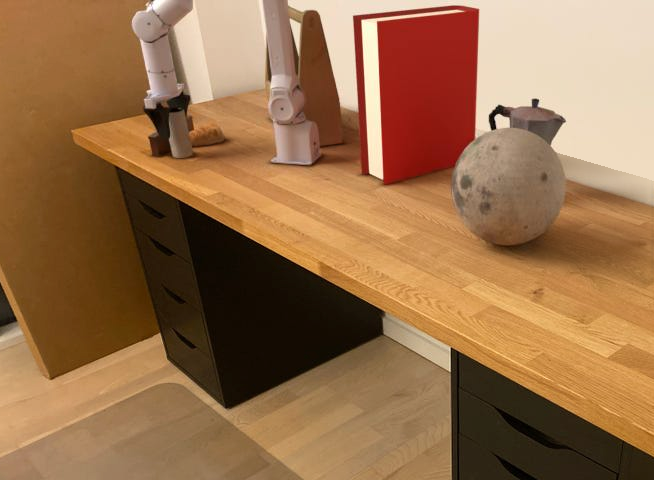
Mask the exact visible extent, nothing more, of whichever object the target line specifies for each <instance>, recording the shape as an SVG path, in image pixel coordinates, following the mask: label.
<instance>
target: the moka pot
mask: <svg viewBox="0 0 654 480" xmlns="http://www.w3.org/2000/svg"><path fill="white" fill-rule="evenodd" d="M539 104H540V99H539V98H531V105H530V106H528V105H526V106H524V105H523V106H522V105H521V106H518V107H513V106H505V105H502V104H498V105H497V106H495V108H494V109H492V110H491V112H490V113H489V114H488V125H489V128H490V131H492V130H495V129H498V128H497V123H496V116H497V115H501V116H502V117H504V118H508V119H509V128H519V129H523V130H527V131H530V132H532V133H534V134H536V135H538V136H539V137H541V138H542V139H544V140H545V141H546V142H547V143H548V144H549V145H550V146H551V147H552V142H553V140H554V139H555V138H556V136H557V134H558V132H559V131H560V129H561V127H562V126H563V124H565V123H567V120H566V118H565V117H563V116H562V115H560V114H558V113H556V112H555V111H554V110H551V109H548V108H545V107H541V106H539Z"/></svg>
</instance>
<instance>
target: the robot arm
mask: <svg viewBox="0 0 654 480" xmlns="http://www.w3.org/2000/svg"><path fill="white" fill-rule="evenodd" d="M261 1H262V8H263V18H264V25H265V35H266V34H267V42H268V50H269V58H270V66H271V73H272V79H271V86H270V92H271V97H270V100H269V103H268V102H267V109H268V113H269V116H270V115H271V116H272V117H273V120H272V124H273V125H272V126H273V133H274V140H275V148H276V150H275V151H276V155H275V156H274V157H273V158H271V160H270V162H271V163H274V164H286V165H299V166H312V165H313V164H314V163H315V162H316V161H317V160H318V159H319V158H320V157H321V156H322V153H321V146H320V145H319V134H318V127H317V124H316V123H315V122H313V121H308V120H306V117H305V115H304V113H303V111H302V109H303V108H304V107H305V104H306V97H305V94H304V92H303V90H302V89H301V86H300V80H299V78H298V76H297V75H296V73H295V64H294V54H293V45H292V36H291V28H292V26H291V27H290V24H291V19H290V18H289V8H288V6H289V0H261ZM145 7H146V9H145V10H139V11H136V13H135V15H134V16H133V17H132V20H131V28H132V30H133V33H134V34H135V35H136V37H137V38H139V41H140V46H141V47H140V48H141V51H142V57H143V61H144V65H145V70H146V75H147V80H148V85H149V88H150V89H148V90H146V95H147V96H146V97H145V98H144V99H143V102H144V105H142V110H143V113H145V115H147V118H148V119H149V120H150V121H151V123H152V124H153V126H154V128H155V130H156V132H158V134H159V136H160V138H165V139H169V138H170V127H169V114H170V109H171V108H173V107H180V108H183V109H184V112H185V117H186V122H187V115H188V109H189V105H190V102H191V95H190V94H186V93H187V90H186V84H185V83H178V80H177V76H176V70H175V66H174V65H175V64H174V60H173V54H172V50H171V45H170V40H169V34H170V32H171V29H172V28H174V27H175V26H176V25H177V24H178V23H179V22H180V21H181V20H183V19H184V18H185V17H186V16H187V15H188V14H190V13H191V12H192V11H193V9H194V0H153V1H151V0H149V1H147V3H146V4H145ZM165 102H166V104H167V106H164V105H162V104H163V103H165Z"/></svg>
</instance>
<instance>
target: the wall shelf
mask: <svg viewBox="0 0 654 480" xmlns="http://www.w3.org/2000/svg"><path fill="white" fill-rule="evenodd" d="M193 118H194V117H193V115H189V114H187V126H188V131H189V132H190V131H193V130H194V129H195V127H194V120H193ZM147 139H148V141H149V145H150V150H151V154H152V157H160V156H162V155H164V154H165V153H167V152H169V151H170V150H171V146H170V142H169V139H165V138H160V136H159V134H158V132H157V131H155V132H153V133H151V134H150V135H148V136H147Z"/></svg>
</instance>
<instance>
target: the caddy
mask: <svg viewBox="0 0 654 480" xmlns="http://www.w3.org/2000/svg"><path fill="white" fill-rule="evenodd" d="M288 8H289V18H290V20H292V21H294V22H295V23H298V24H300V26H299V46H298V47H299V48H297V45H296V40H295V36H294V33H293V28H292V24H291V23H290V27H291V36H292V45H293V54H294V64H295V73H296V75H297V76H298V78H299V80H300V86H301V89H302V90H303V92H304V94H305V97H306V104H305V107H304V108H303V109H302V111H303V113H304V115H305V117H306V120H308V121H313V122H315V123H316V124H317V127H318V134H319V145H320V147H325V146H330V145H336V144H343V142H344V141H343V140H344V139H343V138H344V137H343V124H342V113H341V102H340V96H339V92H338V88H337V83H336V78H335V74H334V71H333V66H332V61H331V56H330V53H329V52H330V51H329V47H328V44H327V39H326V35H325V30H324V27H323V23H322V18H321V15H320V13H319V12H318V10H316V9H305V10H304V11H301V10H298V9H296V8H294V7H291V6H290V5H288ZM271 79H272V73H271V66H270V58H269V50H268V42H267V34H266V33H265V63H264V85H265V89H266V91H265V92H266V97H267V104H268V103H269V100H270V97H271V92H270V86H271ZM269 118H270V120H272V121H273V117H272V116H271V115H270V114H269Z"/></svg>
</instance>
